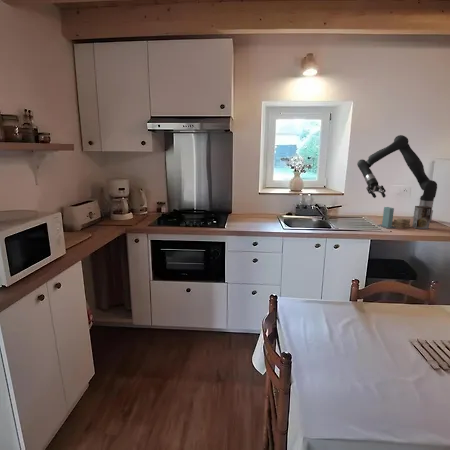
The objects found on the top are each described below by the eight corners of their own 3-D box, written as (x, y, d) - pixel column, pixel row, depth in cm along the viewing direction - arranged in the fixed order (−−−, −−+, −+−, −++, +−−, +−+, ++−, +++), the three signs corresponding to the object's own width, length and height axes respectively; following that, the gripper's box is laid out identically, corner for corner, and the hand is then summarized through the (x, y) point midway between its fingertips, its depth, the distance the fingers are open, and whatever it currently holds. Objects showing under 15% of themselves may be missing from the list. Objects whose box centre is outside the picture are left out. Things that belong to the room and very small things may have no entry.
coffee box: (424, 227, 244) (427, 205, 240) (428, 229, 237) (432, 207, 233) (411, 226, 244) (414, 205, 241) (415, 228, 238) (418, 207, 234)
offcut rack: (396, 223, 255) (397, 215, 254) (409, 227, 243) (411, 219, 241) (385, 223, 252) (386, 216, 251) (398, 228, 240) (400, 220, 238)
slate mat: (386, 225, 249) (386, 224, 249) (396, 228, 240) (396, 227, 240) (377, 225, 247) (377, 224, 247) (387, 228, 238) (387, 227, 238)
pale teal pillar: (385, 224, 247) (388, 206, 243) (391, 226, 241) (394, 208, 238) (381, 225, 246) (384, 207, 242) (387, 227, 240) (390, 208, 237)
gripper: (366, 177, 251) (374, 194, 243) (381, 177, 255) (390, 193, 247) (361, 184, 258) (369, 200, 250) (376, 183, 261) (384, 199, 253)
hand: (379, 197), depth 248 cm, fingers open, 8 cm apart
